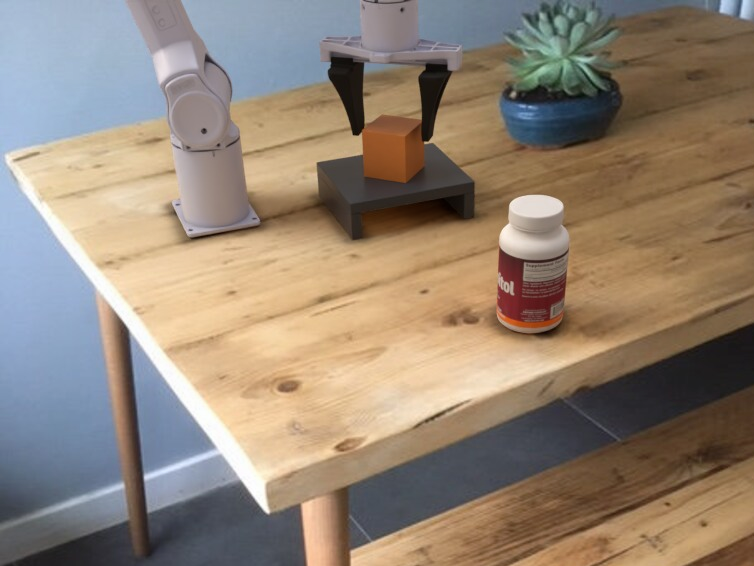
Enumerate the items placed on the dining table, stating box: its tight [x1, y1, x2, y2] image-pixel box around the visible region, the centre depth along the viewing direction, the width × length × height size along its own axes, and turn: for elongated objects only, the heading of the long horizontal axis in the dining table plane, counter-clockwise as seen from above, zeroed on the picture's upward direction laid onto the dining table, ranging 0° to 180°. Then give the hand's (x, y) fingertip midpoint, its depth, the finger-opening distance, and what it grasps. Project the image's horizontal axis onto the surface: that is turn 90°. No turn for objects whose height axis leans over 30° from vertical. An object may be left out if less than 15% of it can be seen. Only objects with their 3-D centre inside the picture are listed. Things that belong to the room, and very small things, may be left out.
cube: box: [361, 113, 425, 183], centre depth 111 cm, size 5×5×5 cm
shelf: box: [316, 142, 476, 241], centre depth 114 cm, size 12×14×4 cm
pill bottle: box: [496, 194, 571, 334], centre depth 93 cm, size 6×6×11 cm
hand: (392, 135), depth 110 cm, fingers open, 7 cm apart
